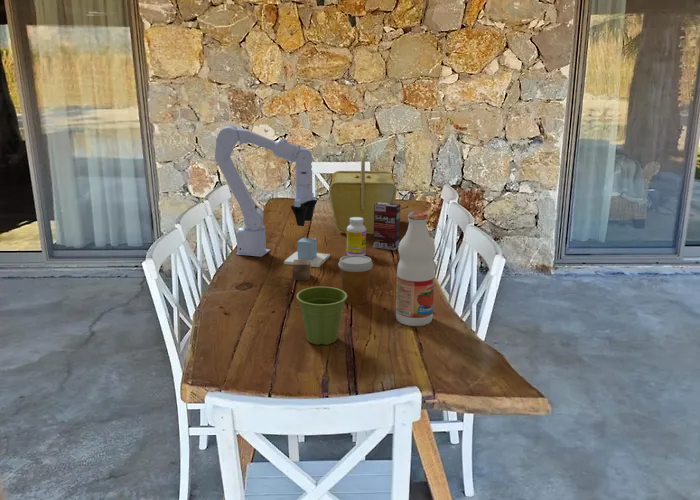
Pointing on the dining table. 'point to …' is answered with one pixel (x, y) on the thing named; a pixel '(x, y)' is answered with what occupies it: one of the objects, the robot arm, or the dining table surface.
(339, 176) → the picnic basket
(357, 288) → the disposable coffee cup
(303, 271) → the walnut block
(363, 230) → the supplement bottle
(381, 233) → the supplement box
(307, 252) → the blue block
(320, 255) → the plate
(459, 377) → the dining table surface
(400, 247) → the fruit juice
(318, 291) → the plant pot
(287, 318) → the dining table surface
